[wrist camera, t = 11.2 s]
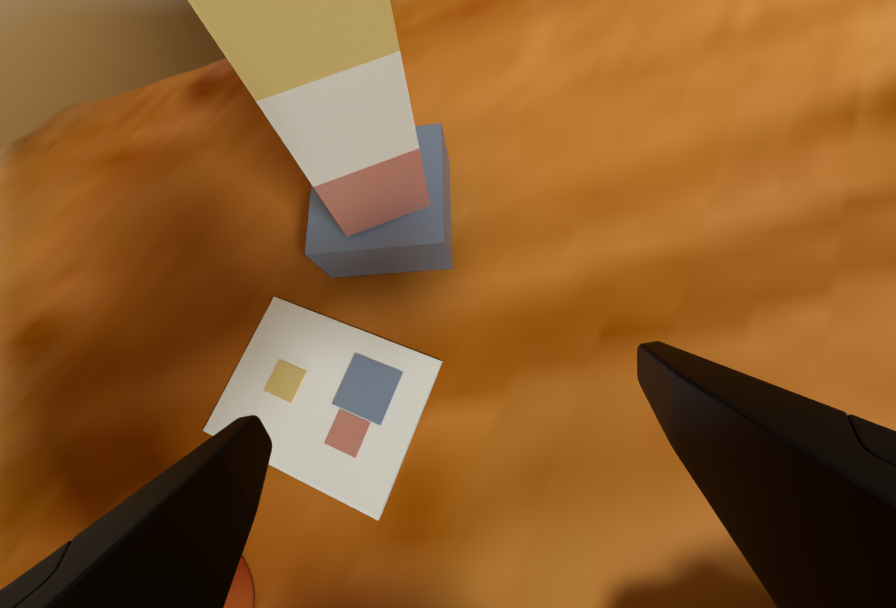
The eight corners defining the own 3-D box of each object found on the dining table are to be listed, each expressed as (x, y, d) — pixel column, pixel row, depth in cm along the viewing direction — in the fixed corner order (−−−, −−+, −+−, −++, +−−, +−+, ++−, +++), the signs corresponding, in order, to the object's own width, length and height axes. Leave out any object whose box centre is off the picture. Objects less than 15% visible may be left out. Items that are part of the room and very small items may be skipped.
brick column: (430, 205, 22) (361, -144, 8) (346, 236, 22) (139, -73, 8) (401, 138, 23) (304, -246, 10) (323, 167, 23) (115, -188, 10)
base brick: (453, 270, 25) (443, 242, 21) (333, 279, 26) (304, 254, 22) (449, 165, 27) (441, 123, 23) (341, 177, 28) (315, 138, 24)
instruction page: (442, 361, 23) (441, 361, 22) (379, 519, 21) (377, 521, 20) (275, 297, 25) (273, 296, 25) (205, 430, 23) (201, 430, 23)
